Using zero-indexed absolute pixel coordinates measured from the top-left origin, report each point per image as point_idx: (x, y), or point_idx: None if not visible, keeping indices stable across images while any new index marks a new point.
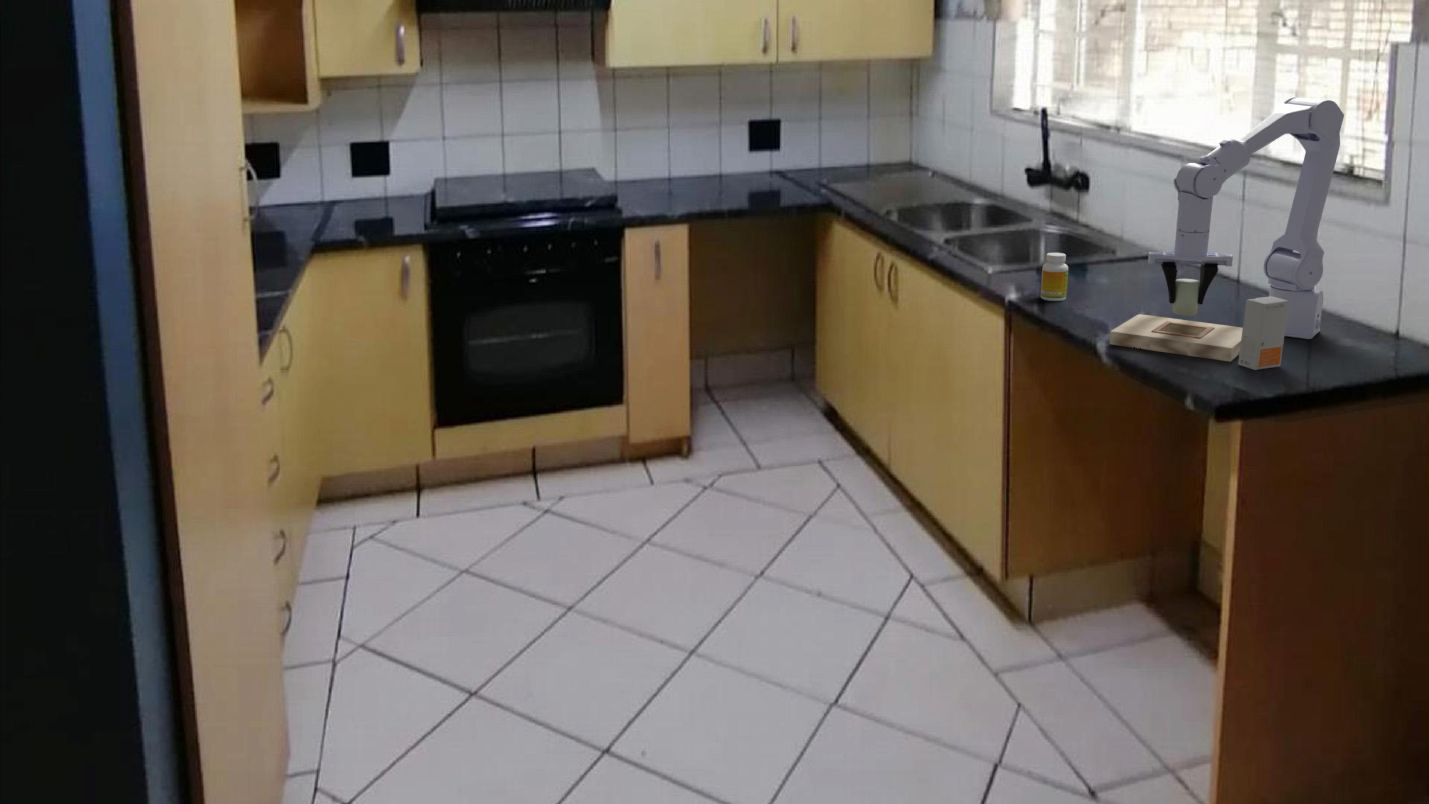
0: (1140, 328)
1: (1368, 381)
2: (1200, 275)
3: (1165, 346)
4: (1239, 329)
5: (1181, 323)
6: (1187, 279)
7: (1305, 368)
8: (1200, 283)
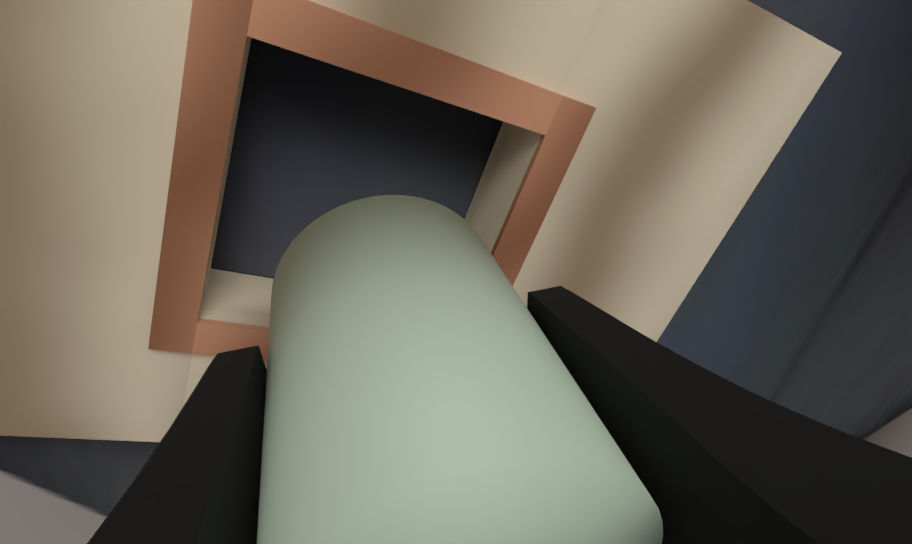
0: (29, 276)
1: (864, 435)
2: (765, 537)
3: None
4: (743, 87)
5: (353, 34)
6: (487, 510)
7: (773, 389)
8: (658, 479)
